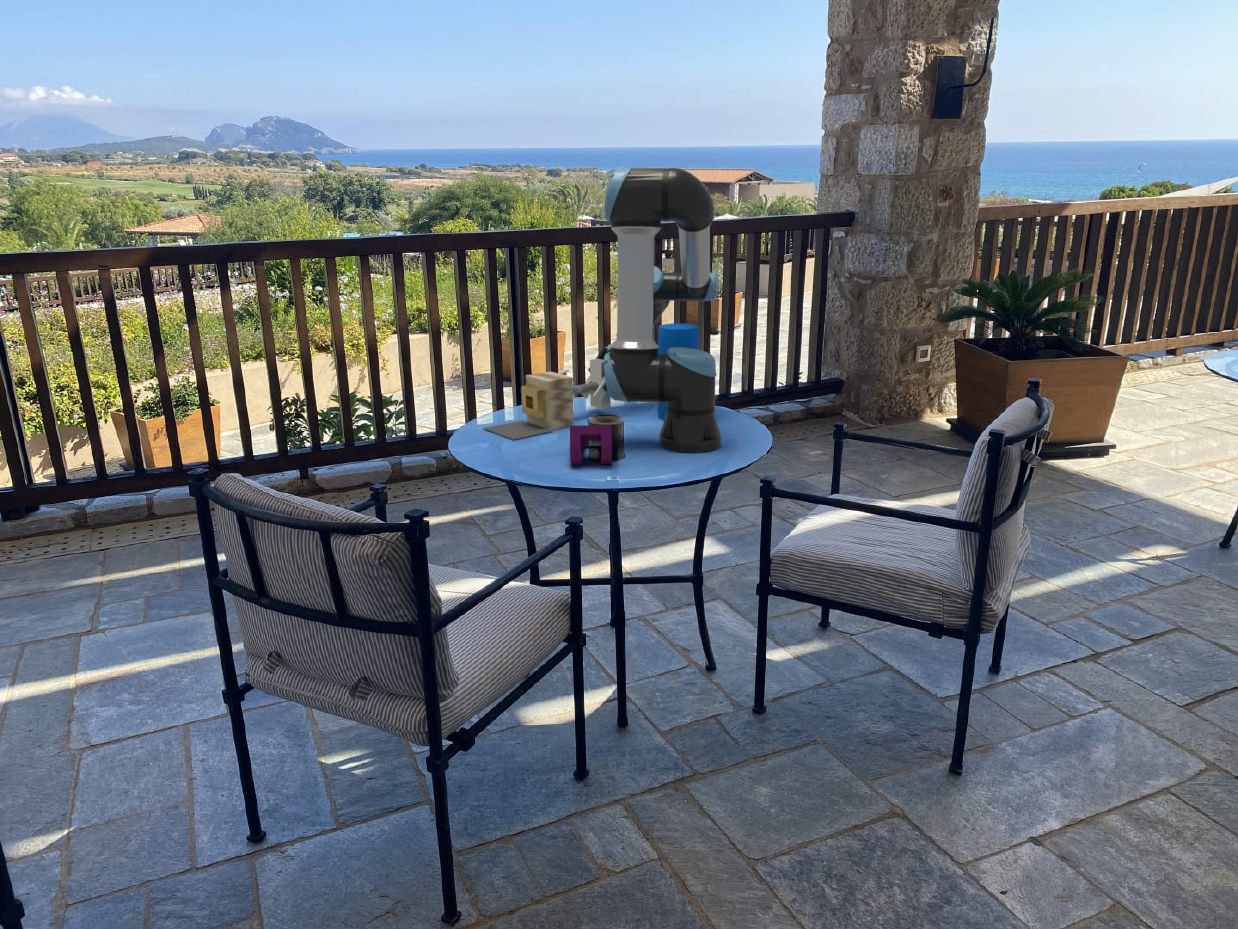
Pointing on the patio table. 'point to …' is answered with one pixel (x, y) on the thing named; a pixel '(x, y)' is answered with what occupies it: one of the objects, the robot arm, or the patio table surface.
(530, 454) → the patio table surface
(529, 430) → the rubber mat
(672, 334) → the tall blue cylinder
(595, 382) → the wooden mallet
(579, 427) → the mounting bracket
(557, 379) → the wooden block
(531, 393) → the brass spacer
